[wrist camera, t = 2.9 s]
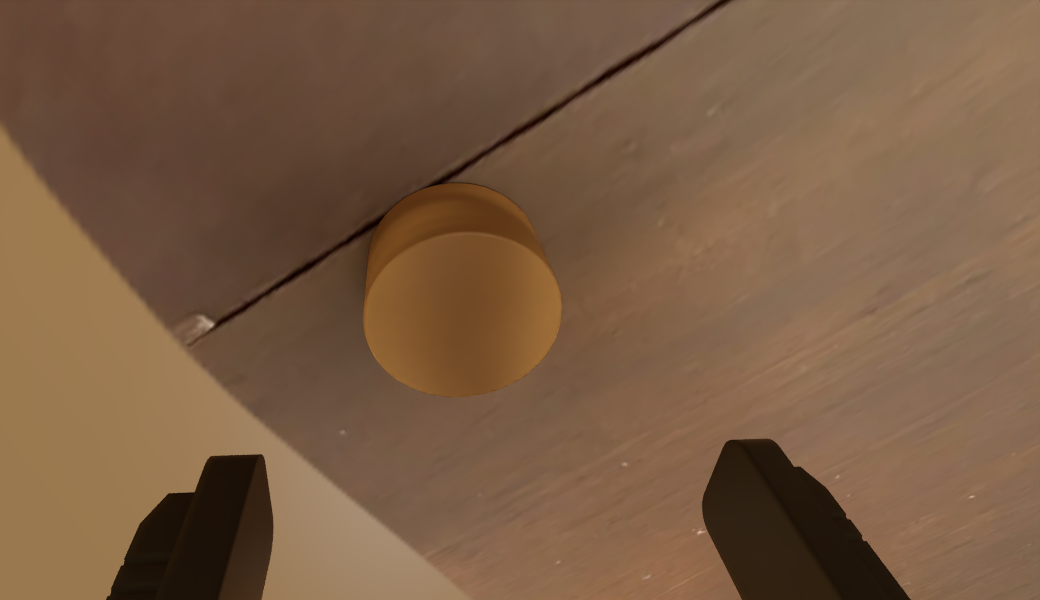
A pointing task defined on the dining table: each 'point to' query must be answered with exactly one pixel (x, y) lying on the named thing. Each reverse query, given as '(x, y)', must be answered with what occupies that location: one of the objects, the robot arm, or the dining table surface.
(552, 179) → the dining table surface
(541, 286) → the tan short cylinder
